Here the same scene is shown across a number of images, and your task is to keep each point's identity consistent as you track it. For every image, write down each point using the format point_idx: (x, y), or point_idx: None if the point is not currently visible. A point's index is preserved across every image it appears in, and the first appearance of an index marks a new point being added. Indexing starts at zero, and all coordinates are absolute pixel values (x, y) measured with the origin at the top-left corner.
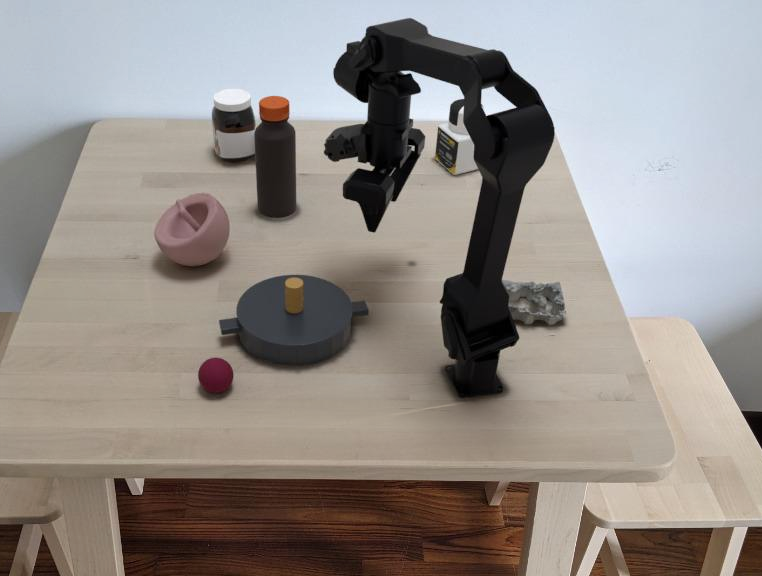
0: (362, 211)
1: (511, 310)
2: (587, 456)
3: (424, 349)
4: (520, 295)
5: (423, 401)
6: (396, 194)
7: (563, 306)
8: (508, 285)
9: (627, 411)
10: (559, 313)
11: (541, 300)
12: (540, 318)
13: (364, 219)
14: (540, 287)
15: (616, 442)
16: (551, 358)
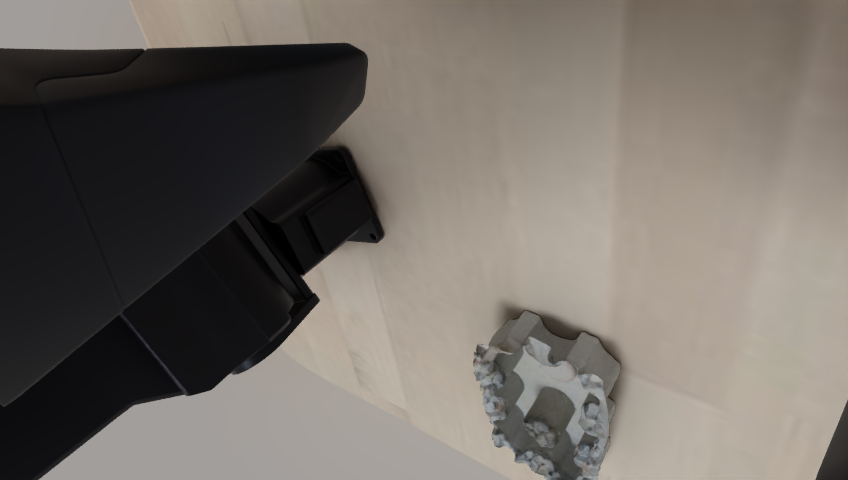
0: (101, 56)
1: (494, 363)
2: None
3: (400, 114)
4: (610, 414)
5: None
6: (835, 464)
7: (516, 453)
8: (597, 415)
9: (339, 366)
10: (494, 433)
11: (530, 434)
12: (519, 396)
13: (223, 47)
14: (576, 464)
15: None
16: (422, 345)
